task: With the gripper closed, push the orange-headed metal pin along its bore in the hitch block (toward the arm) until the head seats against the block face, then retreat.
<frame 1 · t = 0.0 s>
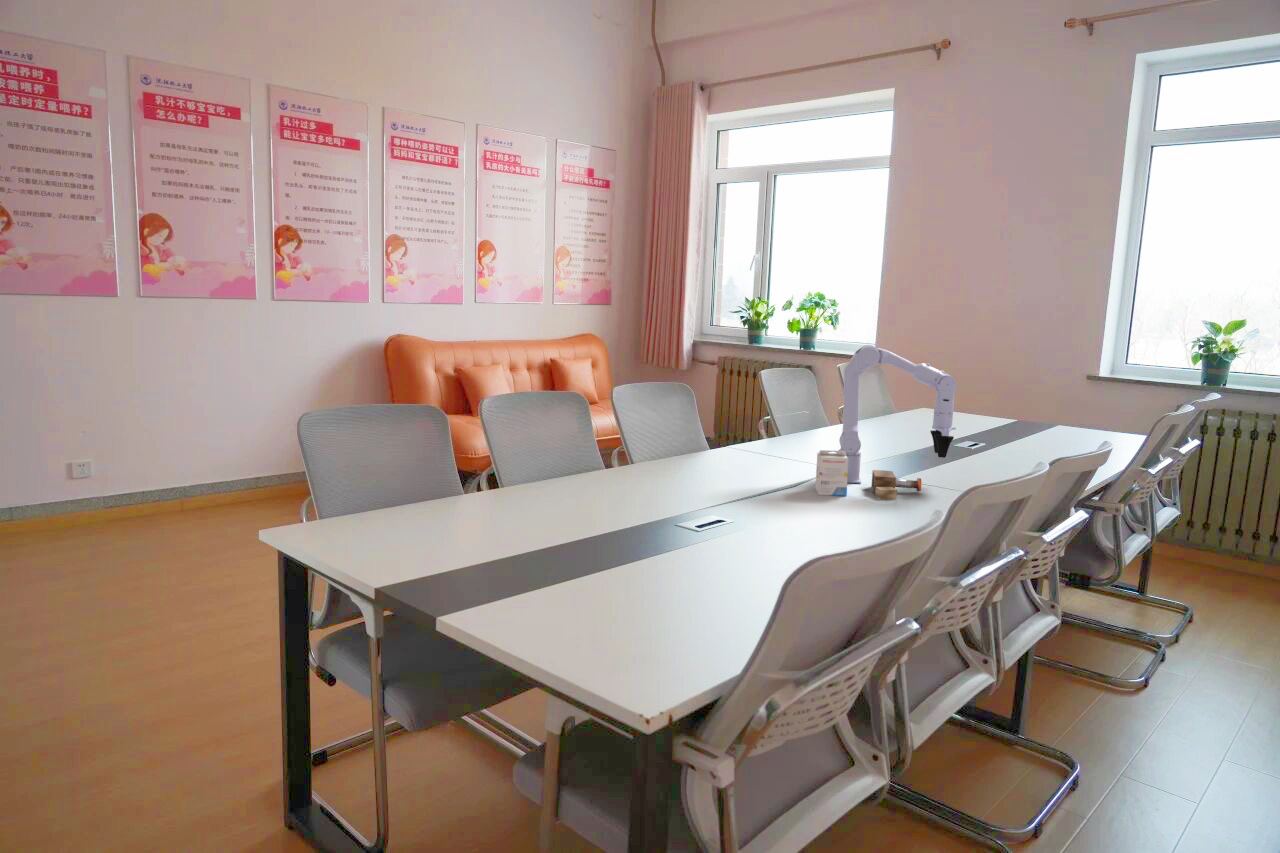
hand: (940, 455, 271), 10 cm above the table, fingers open, 7 cm apart
hitch block: (882, 490, 264), on the table
pin: (900, 483, 263), point 3 cm above the table, slide at 0.0 cm
ink box: (830, 493, 260), on the table
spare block: (885, 498, 255), on the table
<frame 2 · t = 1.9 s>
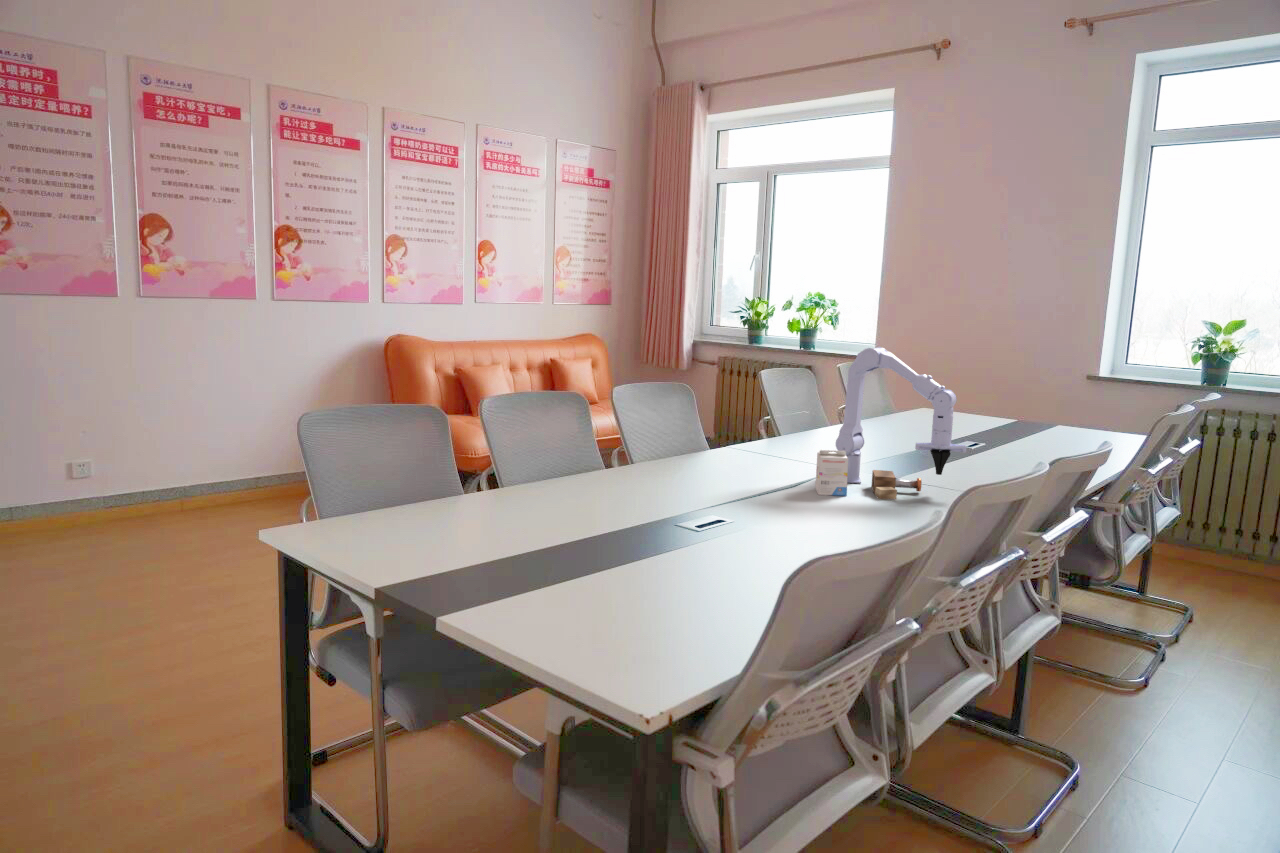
hand: (938, 474, 260), 6 cm above the table, fingers closed
nothing on the table moved.
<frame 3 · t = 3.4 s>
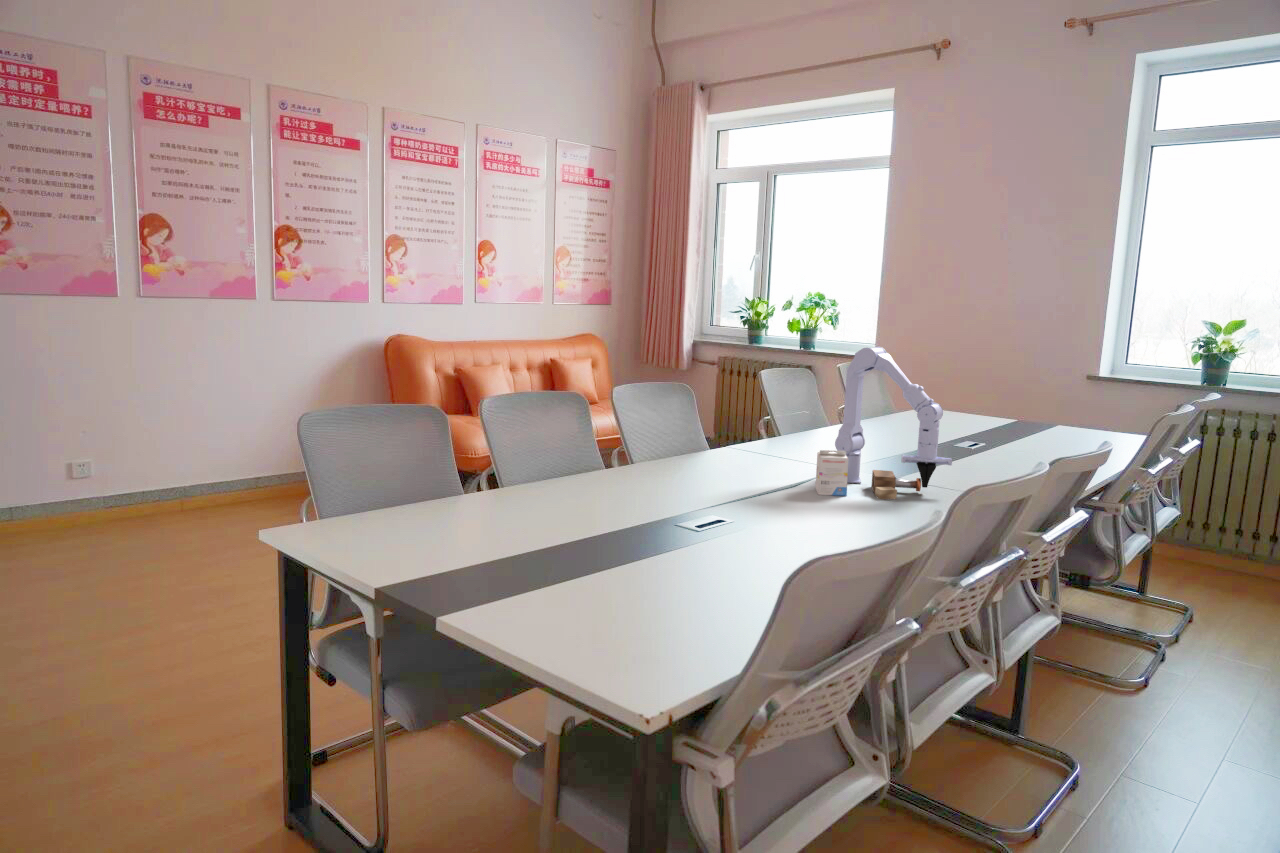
hand: (924, 486, 261), 2 cm above the table, fingers closed
pin: (899, 483, 263), point 3 cm above the table, slide at 0.1 cm, touching gripper
everything else where it was.
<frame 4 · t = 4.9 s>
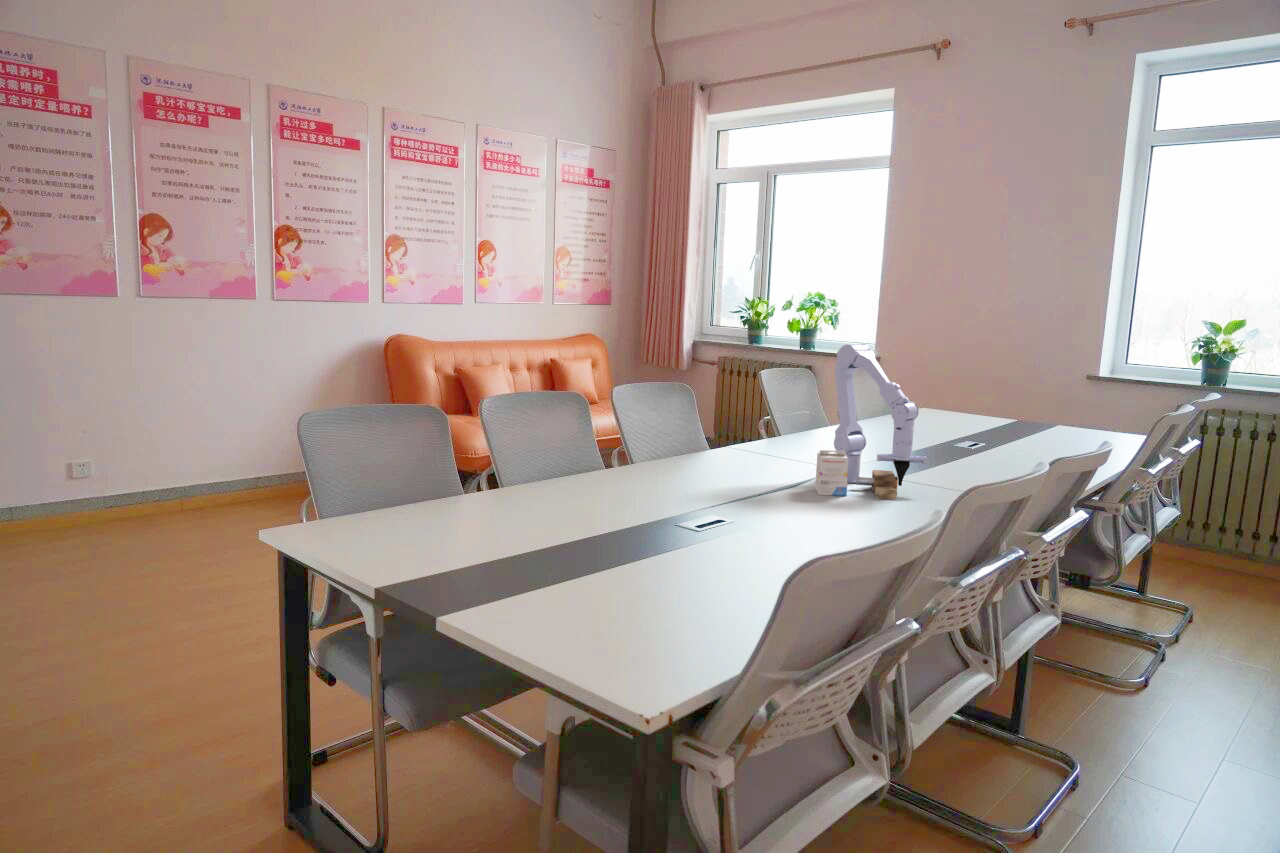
hand: (899, 485, 263), 2 cm above the table, fingers closed
pin: (876, 482, 264), point 3 cm above the table, slide at 7.0 cm, touching gripper, hitch block
everything else where it was.
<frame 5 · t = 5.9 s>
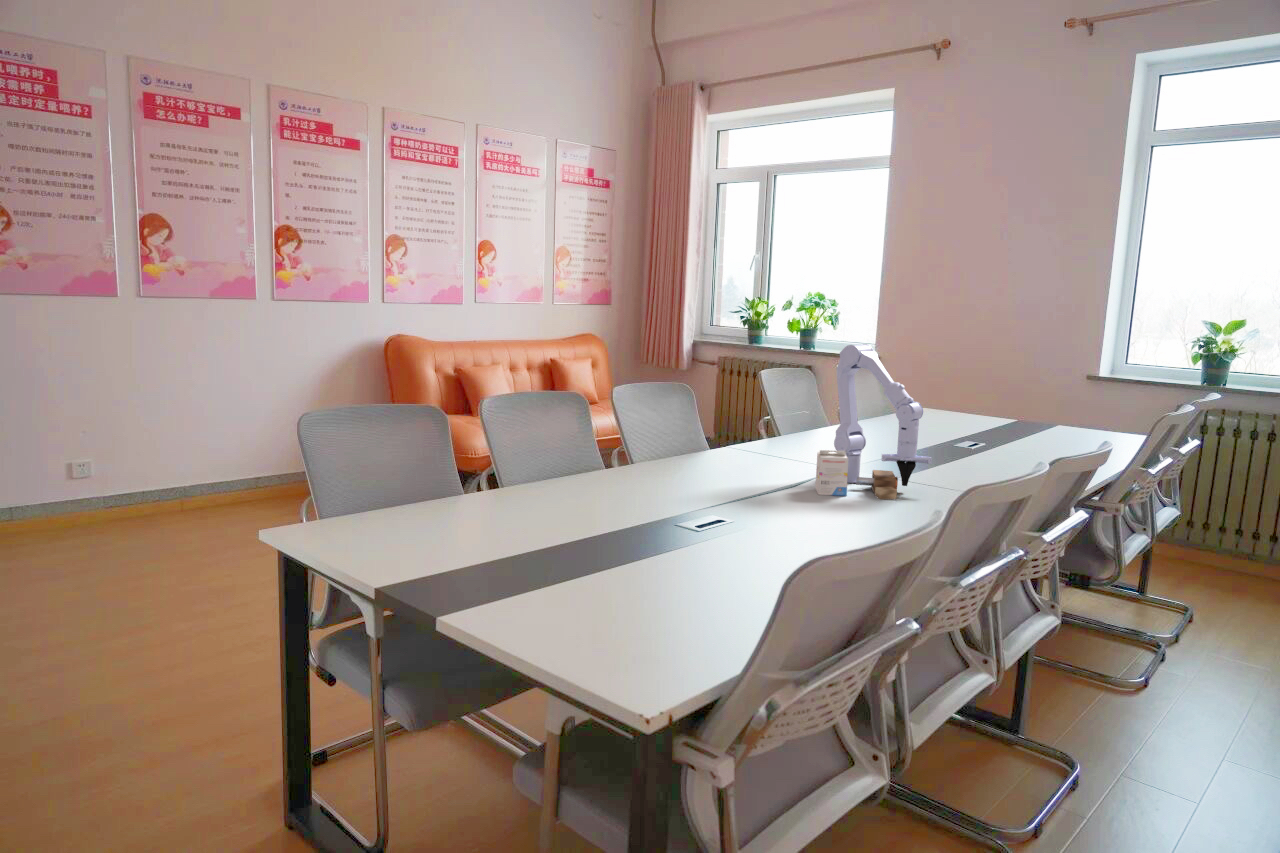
hand: (904, 485, 262), 2 cm above the table, fingers closed
pin: (876, 482, 264), point 3 cm above the table, slide at 7.0 cm, touching hitch block
everything else where it was.
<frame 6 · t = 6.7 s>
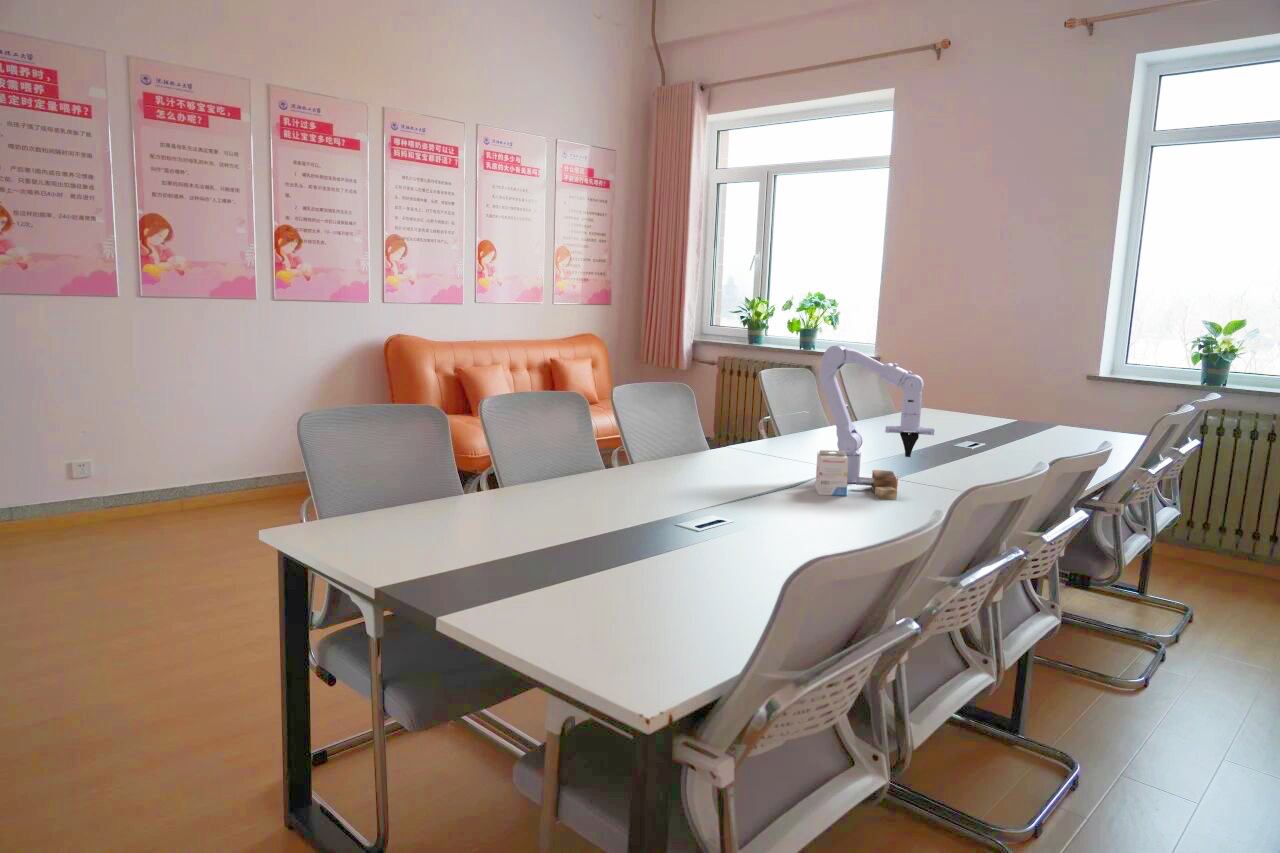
hand: (907, 456, 268), 10 cm above the table, fingers closed
nothing on the table moved.
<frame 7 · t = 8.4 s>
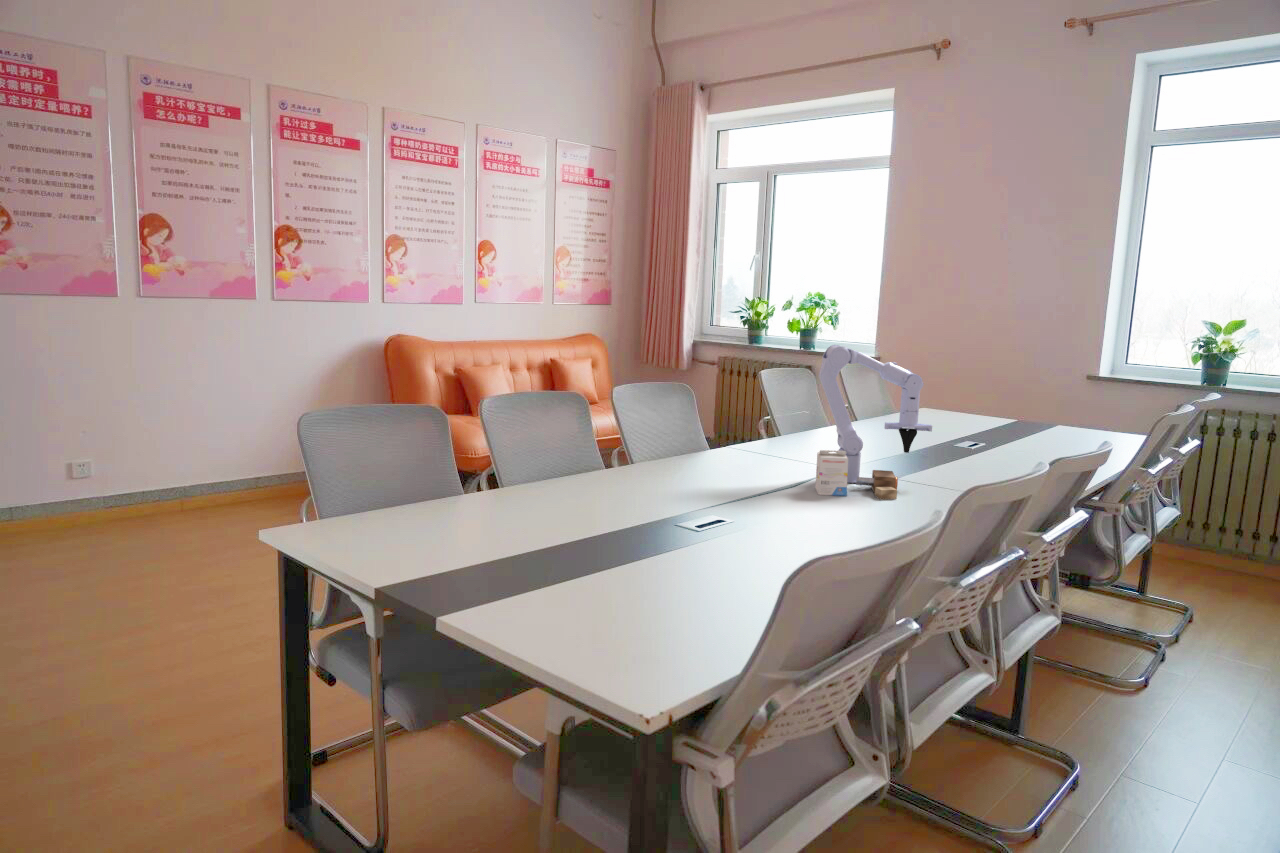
hand: (906, 452, 276), 10 cm above the table, fingers closed
nothing on the table moved.
at the end: pin slide at 7.0 cm; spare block moved 0.2 cm from its start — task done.
